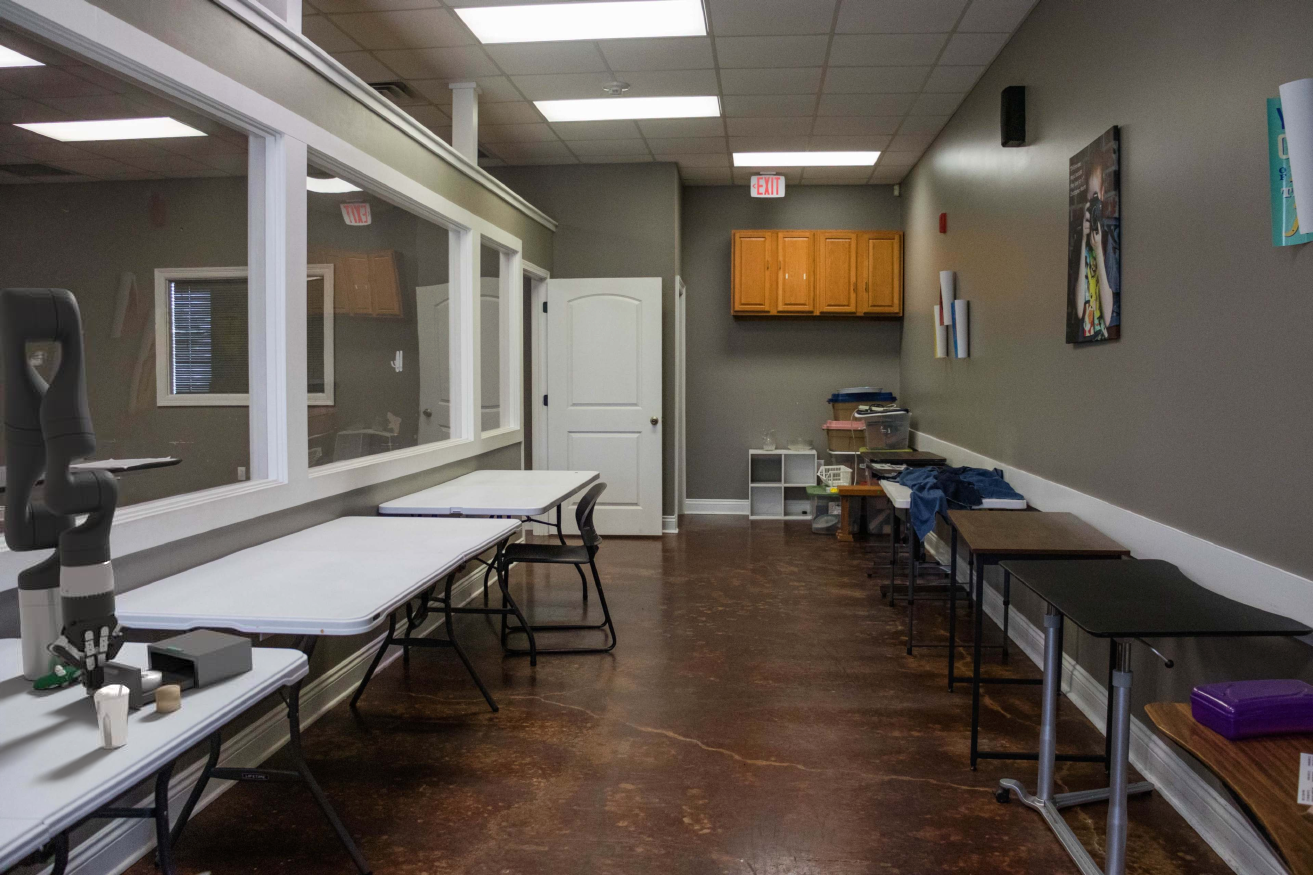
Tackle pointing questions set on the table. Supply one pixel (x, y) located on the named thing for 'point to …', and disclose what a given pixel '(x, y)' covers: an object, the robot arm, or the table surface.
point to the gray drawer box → (203, 655)
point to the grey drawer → (137, 682)
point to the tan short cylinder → (168, 698)
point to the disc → (151, 680)
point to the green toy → (58, 677)
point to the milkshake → (112, 715)
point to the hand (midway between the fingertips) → (93, 688)
